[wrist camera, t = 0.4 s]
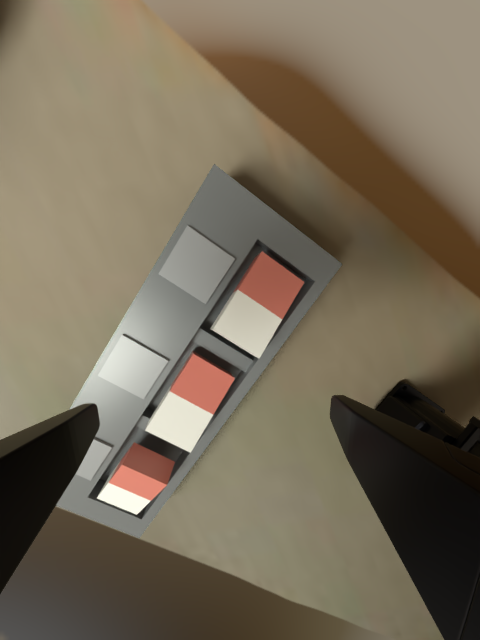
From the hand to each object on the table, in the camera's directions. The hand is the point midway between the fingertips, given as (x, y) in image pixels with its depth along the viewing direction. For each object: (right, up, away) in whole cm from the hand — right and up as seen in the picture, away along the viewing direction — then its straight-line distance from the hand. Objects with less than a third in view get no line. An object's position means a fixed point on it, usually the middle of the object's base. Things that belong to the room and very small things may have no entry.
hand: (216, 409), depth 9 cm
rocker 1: (-8, -10, +11) cm, 17 cm away
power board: (-5, -1, +13) cm, 14 cm away
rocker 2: (-3, -3, +9) cm, 10 cm away
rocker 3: (+2, +4, +8) cm, 10 cm away
